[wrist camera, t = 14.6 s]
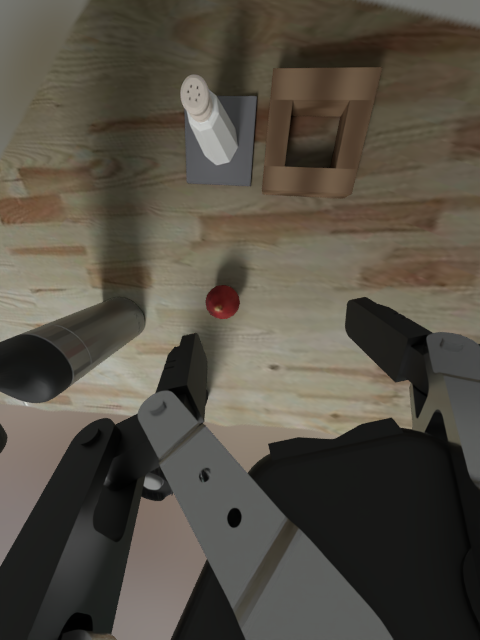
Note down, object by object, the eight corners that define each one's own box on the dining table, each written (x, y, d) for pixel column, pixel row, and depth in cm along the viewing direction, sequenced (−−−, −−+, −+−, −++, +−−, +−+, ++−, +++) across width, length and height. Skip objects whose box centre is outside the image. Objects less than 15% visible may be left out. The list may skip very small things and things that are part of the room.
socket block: (262, 194, 31) (262, 189, 28) (272, 88, 26) (273, 68, 23) (342, 198, 30) (351, 193, 27) (368, 88, 25) (382, 67, 22)
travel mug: (177, 378, 48) (120, 466, 29) (209, 381, 47) (170, 474, 28) (180, 402, 51) (130, 496, 32) (210, 406, 50) (175, 505, 31)
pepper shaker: (199, 161, 30) (164, 123, 20) (205, 114, 28) (168, 45, 18) (234, 170, 30) (216, 136, 20) (242, 123, 28) (227, 58, 18)
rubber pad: (188, 183, 32) (186, 182, 31) (185, 98, 28) (184, 96, 28) (250, 186, 31) (250, 185, 30) (256, 99, 27) (256, 96, 27)
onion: (222, 315, 40) (211, 333, 33) (206, 290, 38) (191, 303, 31) (247, 302, 38) (242, 317, 31) (232, 275, 37) (222, 285, 29)
